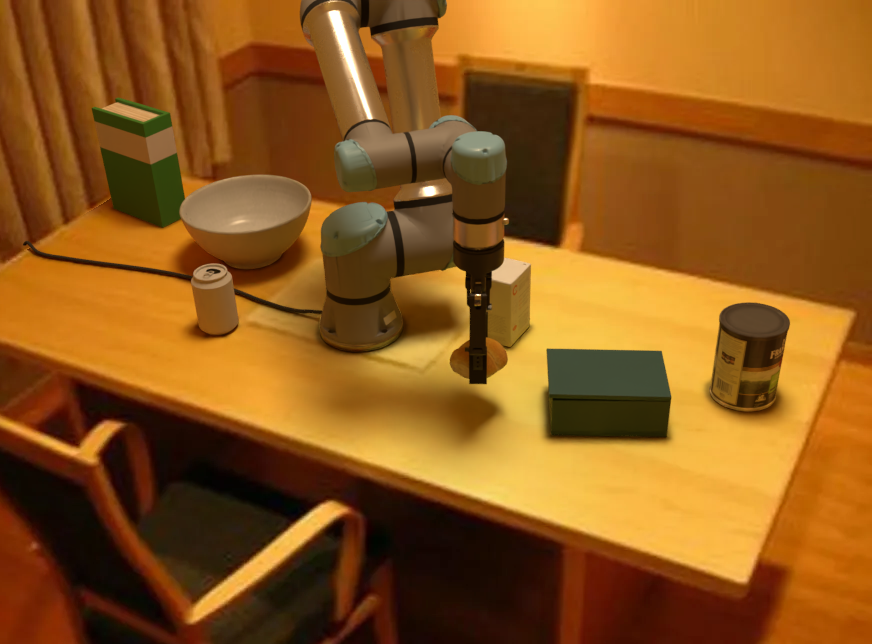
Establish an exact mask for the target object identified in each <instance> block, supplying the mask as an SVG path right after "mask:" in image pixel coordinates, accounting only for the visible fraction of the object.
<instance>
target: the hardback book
mask: <svg viewBox="0 0 872 644" xmlns="http://www.w3.org/2000/svg"><path fill="white" fill-rule="evenodd" d="M114 101H115V102H114V103H112V104H109V105H107V106H105V107H102V108H101V107H99V106H98V107H97V106H93V107H91V112H92V116H93V122H94V126H95V131H96V136H97V140H98V144H99V149H100V154H101V159H102V162H103V163H102V164H103V168H104V170H105V171H104V172H105V178H106V181H107V186H108V190H109V195H110V200H111V204H112V209H113V210H116V211H118V212H122V213H124V214H126V215H129V216H131V217H135V218H137V219H139V220H142V221H144V222H147V223H149V224H152V225H155V226H156V227H160V228H161V229H164V228H166V227H167V226H169V225H172V224H174V223H175V222H178V221H180V220H181V217H180V213H179V211H180V206H181V204H182V202H183V201H184V200H185V198H186V197H185V189H184V184H183V179H182V174H181V168H180V161H179V156H178V151H177V150H178V149H177V145H176V140H175V134H174V127H173V122H172V116H171V112H169V111H165V110H162V109H159V108H156V107H152V106H149V105H145V104H142V103H139V102H136V101H132V100H128V99H126V98H122V97H119V96H118V97H115V98H114Z"/></svg>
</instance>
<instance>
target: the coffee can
mask: <svg viewBox="0 0 872 644" xmlns="http://www.w3.org/2000/svg"><path fill="white" fill-rule="evenodd" d="M718 323H719V325H718V329H717V338H716V344H715V351H714V358H713V359H714V360H713V364H712V374H711V380H710V385H709V394H710V397H711V398H712V399H713V400H714V401H715V402H717V404H719V405H720V406H723V407H724V408H727V409H731V410H733V411H739V412H758V411H763V410H765V409H767V408H770V407H771V406H772V405H773V404H774V403H775V402H776V398H777V389H778V385H779V381H780V375H781V369H782V364H783V358H784V352H785V348H786V342H787V336H788V331H789V330H790V326H791V320H790V317H788V315H787V314H786V313H785V312H783V311H782V310H781V309H779V308H777V307H775V306H772V305H769V304H765V303H762V302H761V303H760V302H737V303H733V304H730V305H728V306H726V307H724V308H723V309H722V310H721V311H720V312H719V315H718Z"/></svg>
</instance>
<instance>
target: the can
mask: <svg viewBox="0 0 872 644" xmlns="http://www.w3.org/2000/svg"><path fill="white" fill-rule="evenodd" d="M192 276H193V278H192V279H190V284H191V290H192V295H193V301H194V302H193V303H194V307H195V312H196V318H197V323H198V327H199V329H200V330H201V331H203V332H204V333H206V334H208V335H210V336H221V335H226V334H228V333H230V332H232V331H234V329H235V328H236V327H237V325H238V324H239V320H240V318H239V313H238V306H237V300H236V293H235V292H234V288H235V285H234V280H233V275H232V274H231V272H230V271H228V268H227V266H225V265H224V264H222V263H221V264H220V263H216V262H215V263H214V262H213V263H205V264H203V265H200V266H198V267H197V268H195V269H194V271H193V273H192Z"/></svg>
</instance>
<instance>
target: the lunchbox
mask: <svg viewBox="0 0 872 644" xmlns="http://www.w3.org/2000/svg"><path fill="white" fill-rule="evenodd" d="M547 389H548V391H547V392H548V393H549V387H548V388H547ZM671 403H672V400H671V401H647V400H607V399H566V398H549V397H548V406H549V407H548V408H549V409H548V410H549V422H550V423H549V426H550V436H558V437H559V436H563V437H564V436H567V437H569V436H570V437H573V436H575V437H635V438H637V437H639V438H640V437H642V438H643V437H645V438H648V437H649V438H667V437H668V430H669V421H670V412H671V405H672V404H671Z"/></svg>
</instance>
